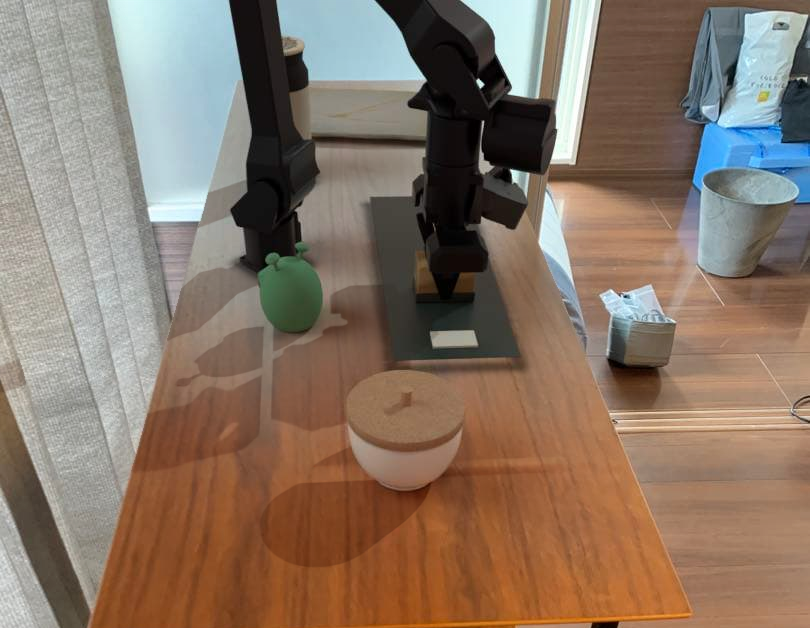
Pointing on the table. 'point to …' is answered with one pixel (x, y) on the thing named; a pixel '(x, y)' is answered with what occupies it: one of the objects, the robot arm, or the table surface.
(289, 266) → the alien toy
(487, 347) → the board
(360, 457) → the trinket box
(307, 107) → the travel mug
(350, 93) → the decorative slab
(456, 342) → the smudge
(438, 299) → the eraser
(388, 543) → the table surface
